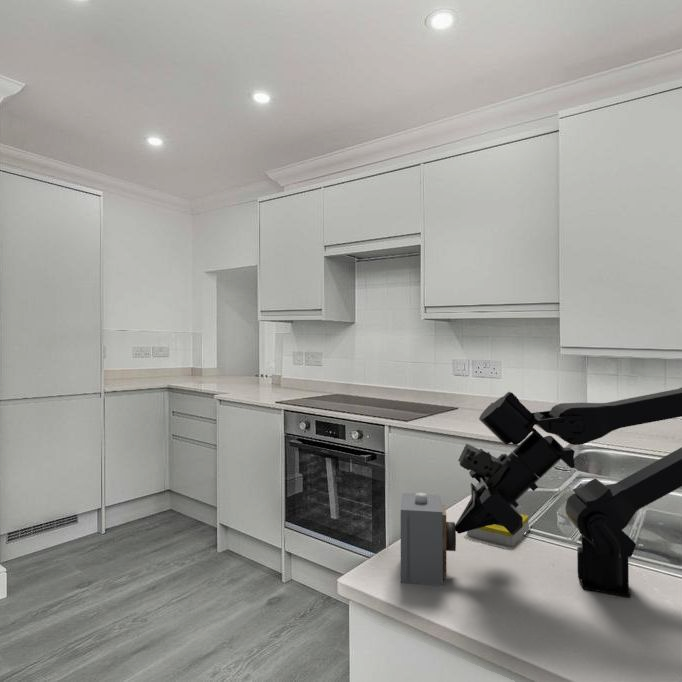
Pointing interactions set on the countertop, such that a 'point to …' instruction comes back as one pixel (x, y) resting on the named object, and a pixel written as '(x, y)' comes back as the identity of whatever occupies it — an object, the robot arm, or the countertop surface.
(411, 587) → the countertop surface
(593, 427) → the robot arm
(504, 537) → the emergency button
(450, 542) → the plunger
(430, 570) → the housing
